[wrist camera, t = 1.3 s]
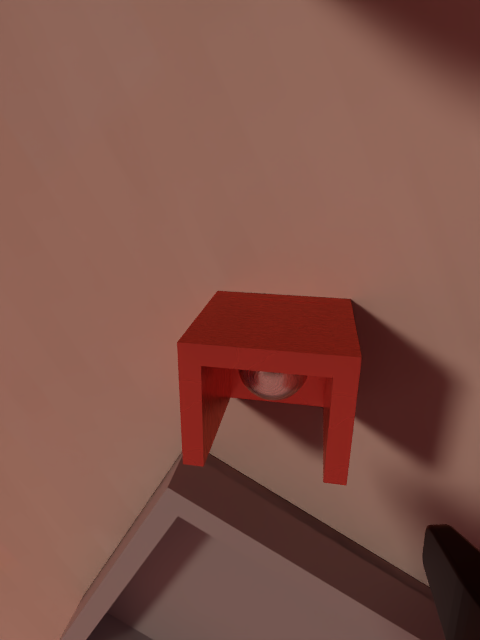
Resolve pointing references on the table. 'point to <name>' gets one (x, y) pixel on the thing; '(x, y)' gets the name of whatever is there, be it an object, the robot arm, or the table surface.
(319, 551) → the slate tray
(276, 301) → the red arch stool
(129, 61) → the table surface
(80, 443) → the table surface
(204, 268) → the table surface
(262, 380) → the steel ball
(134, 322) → the table surface
